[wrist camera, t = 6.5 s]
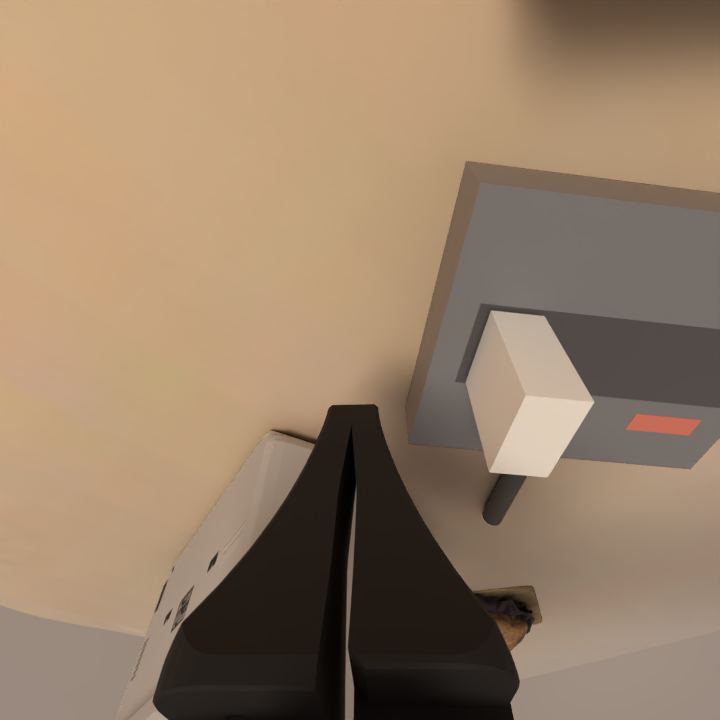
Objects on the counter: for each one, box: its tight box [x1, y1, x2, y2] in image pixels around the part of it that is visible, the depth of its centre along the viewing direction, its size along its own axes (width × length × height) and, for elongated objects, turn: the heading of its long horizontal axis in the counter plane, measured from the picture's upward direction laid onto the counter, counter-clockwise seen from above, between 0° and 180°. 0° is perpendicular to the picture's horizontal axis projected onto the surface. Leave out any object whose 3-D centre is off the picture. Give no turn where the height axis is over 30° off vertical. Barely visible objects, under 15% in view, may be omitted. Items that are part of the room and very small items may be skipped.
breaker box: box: [405, 161, 720, 469], centre depth 18 cm, size 14×12×2 cm
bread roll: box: [473, 586, 542, 651], centre depth 37 cm, size 11×8×4 cm
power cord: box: [482, 474, 527, 525], centre depth 25 cm, size 1×8×1 cm, turn 173°
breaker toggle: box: [466, 310, 594, 477], centre depth 15 cm, size 2×4×4 cm, turn 174°
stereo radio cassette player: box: [115, 431, 356, 720], centre depth 22 cm, size 21×8×20 cm, turn 149°
